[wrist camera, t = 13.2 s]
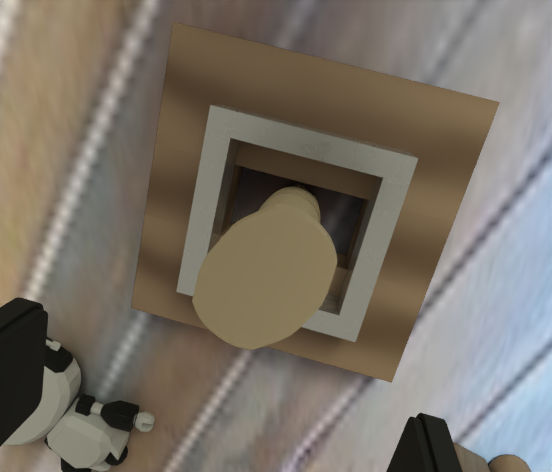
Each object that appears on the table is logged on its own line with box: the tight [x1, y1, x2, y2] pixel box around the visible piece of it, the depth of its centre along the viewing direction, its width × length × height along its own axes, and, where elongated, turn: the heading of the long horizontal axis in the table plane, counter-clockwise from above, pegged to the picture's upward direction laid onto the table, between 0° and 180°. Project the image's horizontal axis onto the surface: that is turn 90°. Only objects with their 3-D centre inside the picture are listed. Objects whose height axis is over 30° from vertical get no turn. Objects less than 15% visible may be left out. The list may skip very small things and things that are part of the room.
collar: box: [176, 105, 418, 342], centre depth 28 cm, size 12×12×3 cm
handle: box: [192, 184, 337, 350], centre depth 25 cm, size 5×6×15 cm
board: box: [131, 22, 500, 382], centre depth 31 cm, size 20×20×3 cm
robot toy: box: [3, 337, 155, 472], centre depth 38 cm, size 12×4×15 cm
